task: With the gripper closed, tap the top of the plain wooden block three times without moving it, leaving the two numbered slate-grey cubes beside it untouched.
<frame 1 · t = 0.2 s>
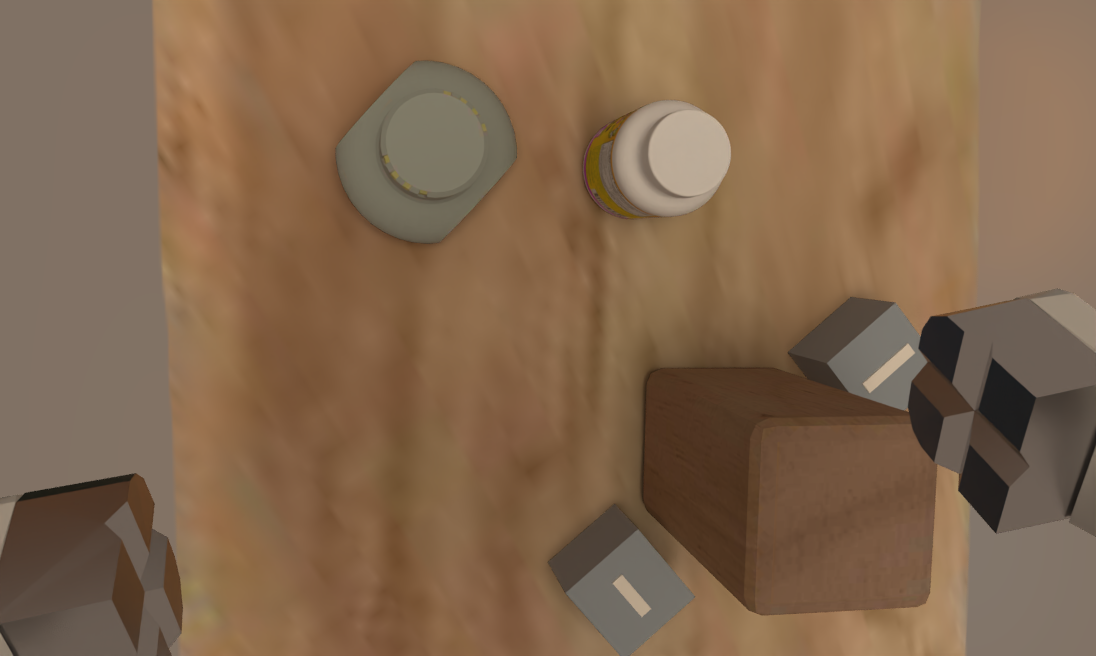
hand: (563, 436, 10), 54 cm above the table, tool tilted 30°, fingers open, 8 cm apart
cube one: (843, 356, 69), on the table
supplement bottle: (627, 169, 65), on the table
air freshener: (424, 157, 63), on the table
wooden block: (709, 437, 68), on the table
cube seven: (607, 563, 67), on the table
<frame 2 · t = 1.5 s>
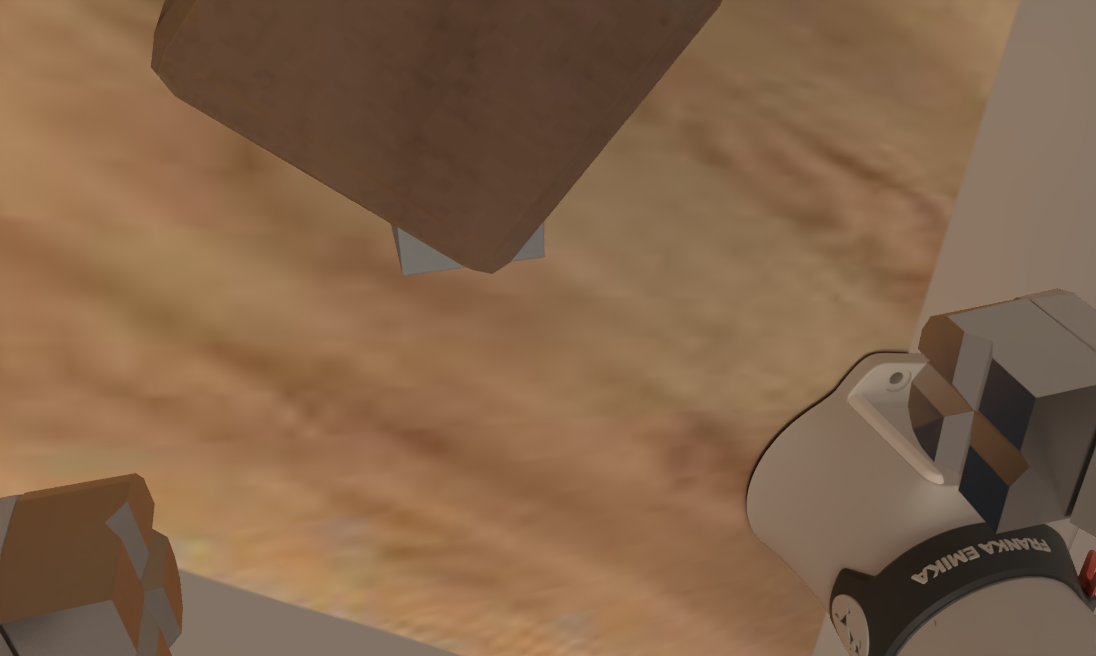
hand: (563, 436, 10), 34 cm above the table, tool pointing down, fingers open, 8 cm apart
cube seven: (448, 144, 44), on the table
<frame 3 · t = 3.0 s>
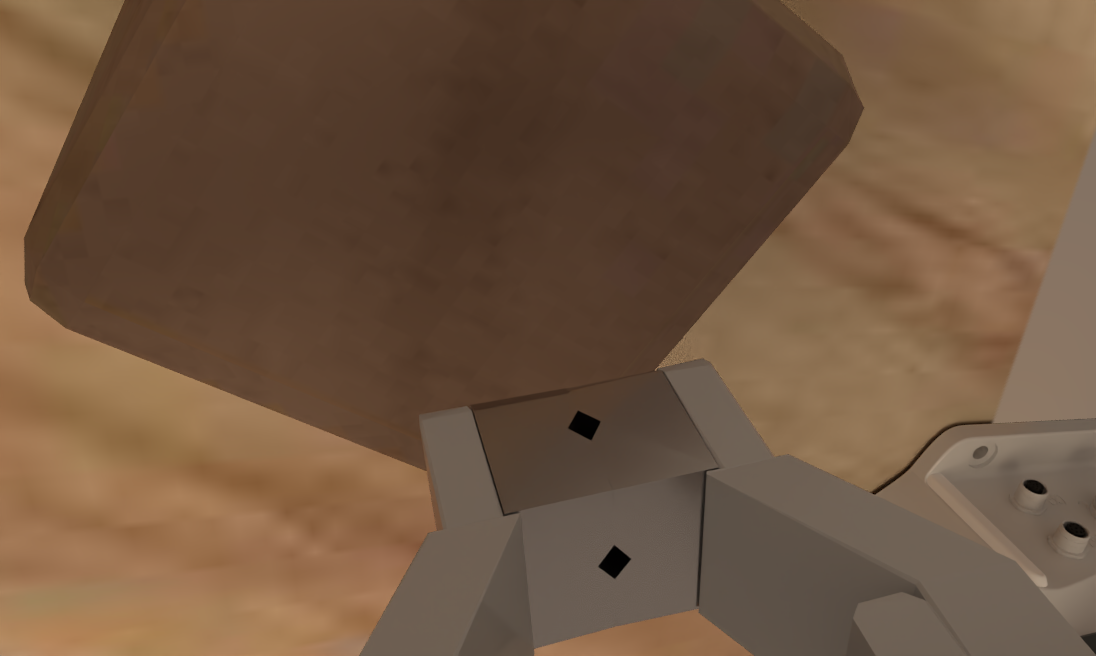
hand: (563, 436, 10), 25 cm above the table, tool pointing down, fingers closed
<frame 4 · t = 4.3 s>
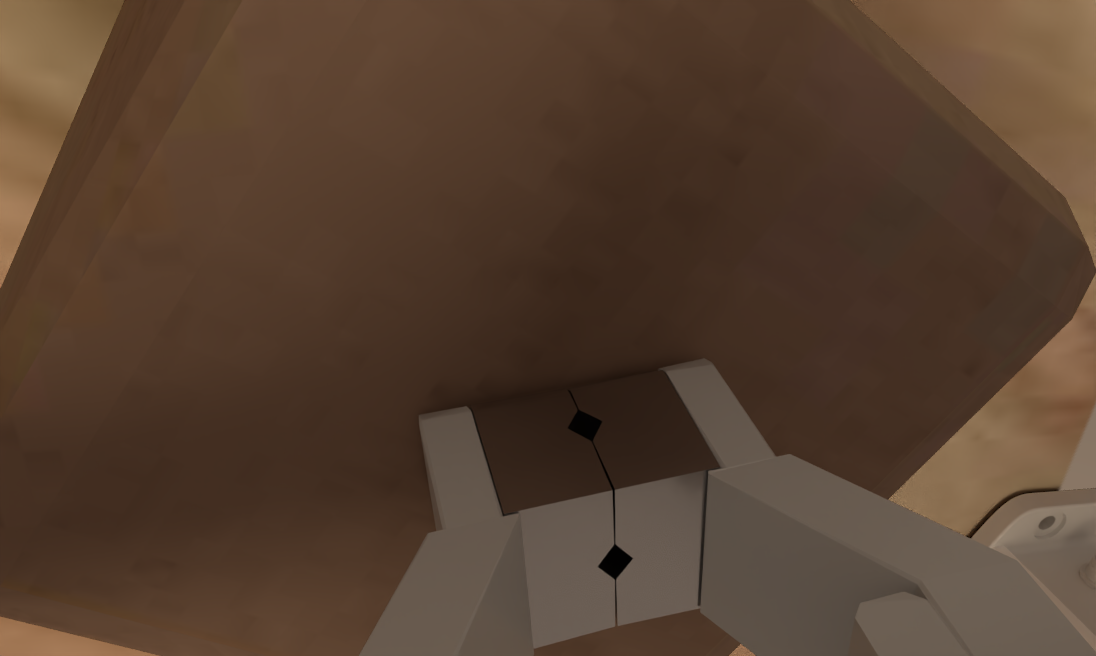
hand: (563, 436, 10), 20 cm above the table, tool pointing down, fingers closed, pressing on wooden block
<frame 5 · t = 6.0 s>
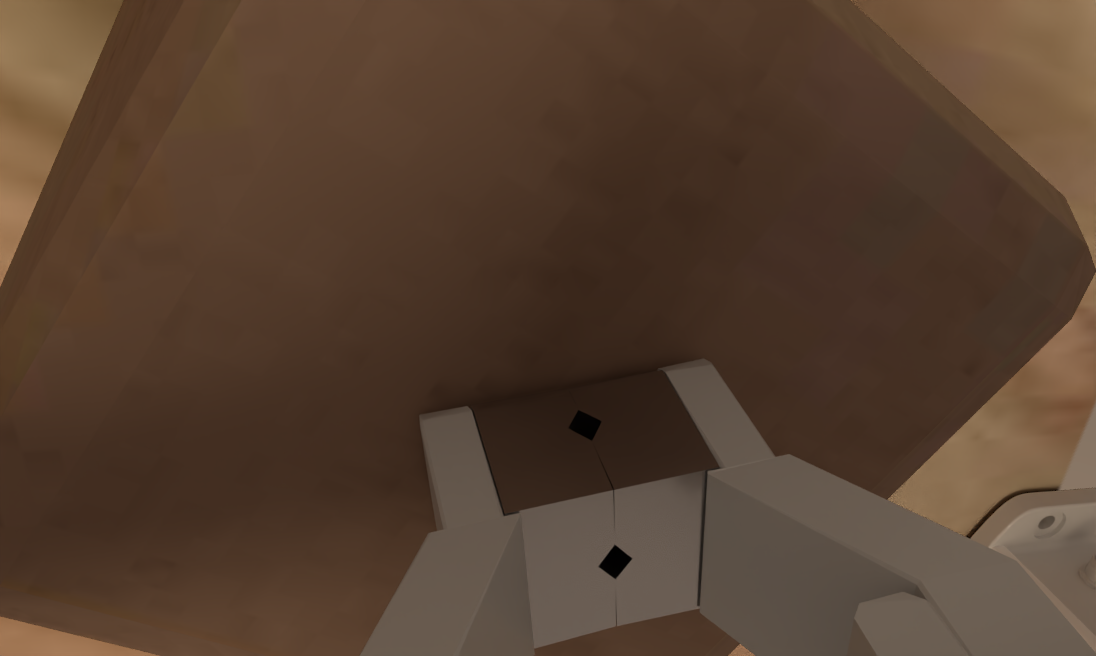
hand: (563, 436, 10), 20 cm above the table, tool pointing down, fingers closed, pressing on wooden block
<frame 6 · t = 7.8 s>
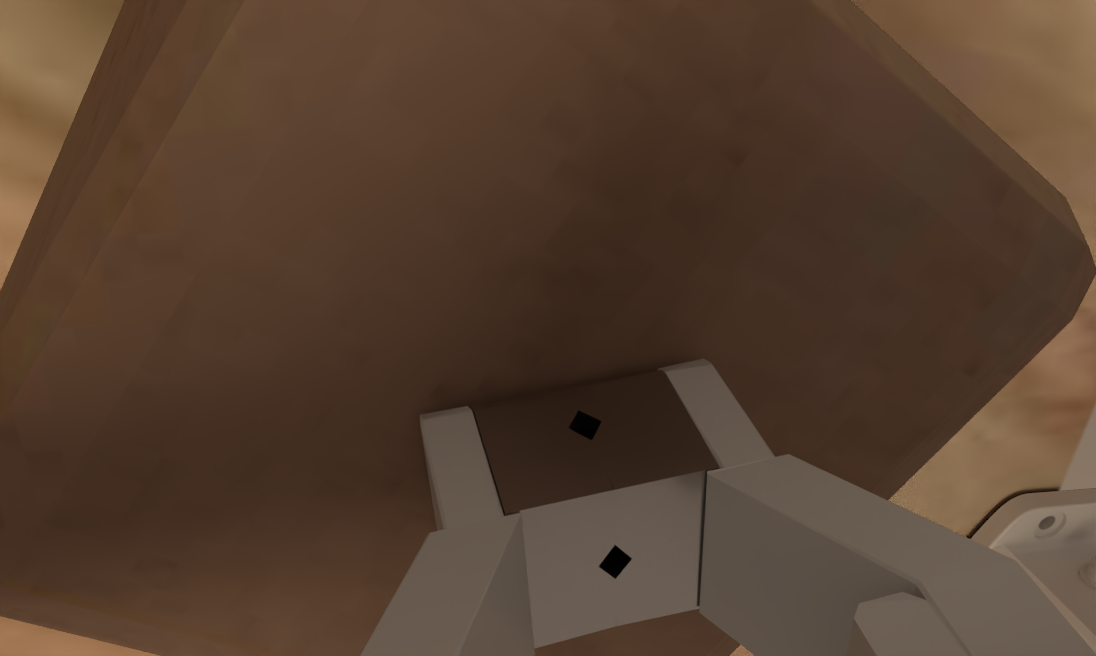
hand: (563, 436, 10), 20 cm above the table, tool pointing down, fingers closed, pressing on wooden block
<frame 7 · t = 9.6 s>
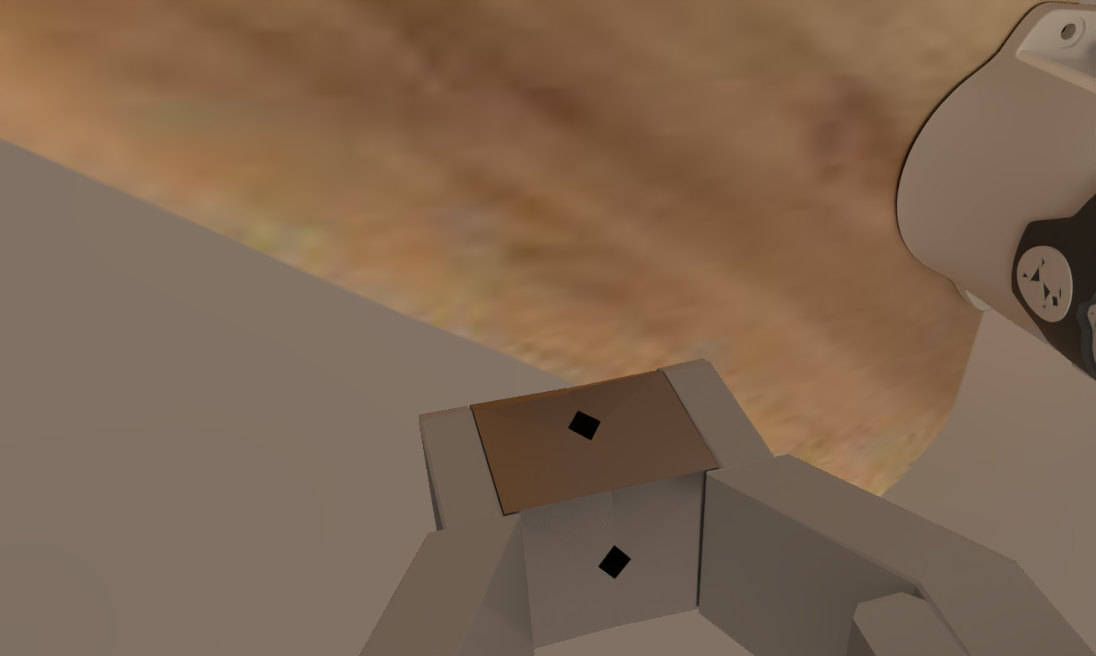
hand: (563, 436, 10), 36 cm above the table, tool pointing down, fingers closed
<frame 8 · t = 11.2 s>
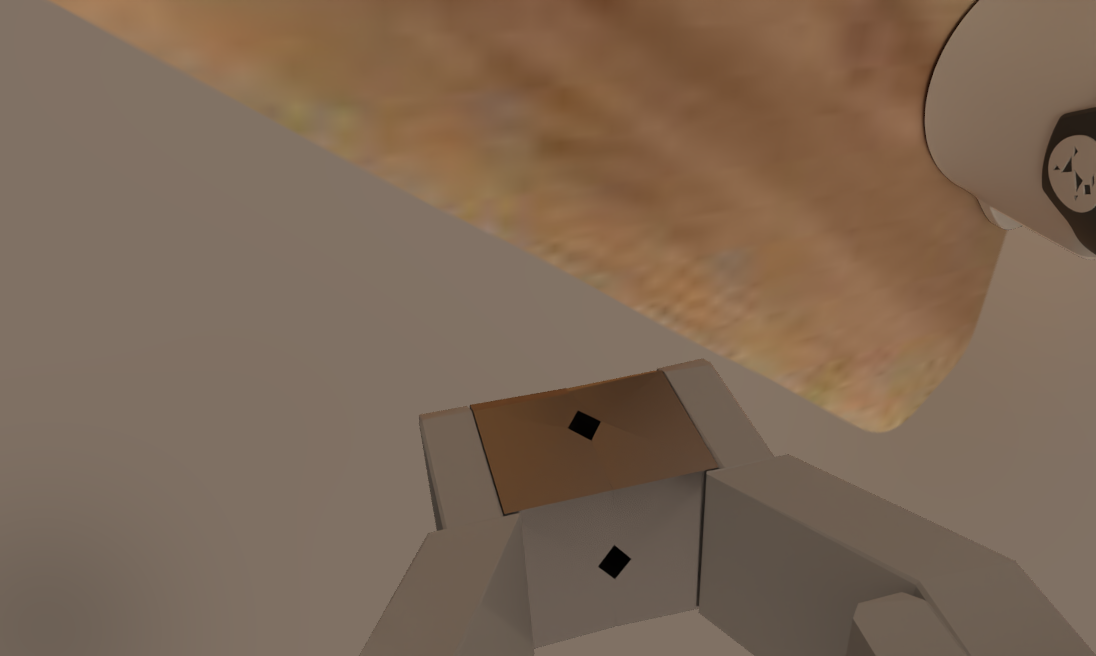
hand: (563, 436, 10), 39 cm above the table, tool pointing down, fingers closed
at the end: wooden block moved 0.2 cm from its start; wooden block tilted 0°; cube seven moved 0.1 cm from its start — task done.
